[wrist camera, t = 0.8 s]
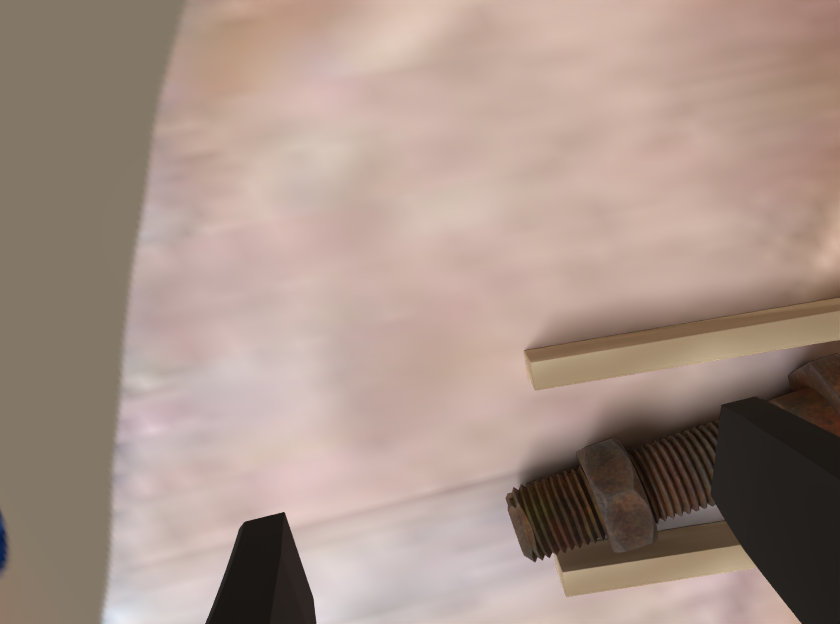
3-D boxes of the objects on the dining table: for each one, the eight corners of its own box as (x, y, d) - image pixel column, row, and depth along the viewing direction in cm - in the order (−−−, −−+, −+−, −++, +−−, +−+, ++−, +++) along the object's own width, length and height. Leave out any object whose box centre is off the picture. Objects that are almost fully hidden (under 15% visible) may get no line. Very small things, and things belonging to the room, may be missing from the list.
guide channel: (1080, 489, 30) (1152, 522, 27) (557, 570, 31) (571, 611, 28) (1083, 256, 28) (1161, 264, 25) (523, 350, 29) (535, 369, 26)
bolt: (502, 473, 32) (808, 371, 30) (538, 580, 30) (865, 477, 29) (488, 465, 27) (861, 340, 25) (532, 595, 25) (934, 470, 23)
